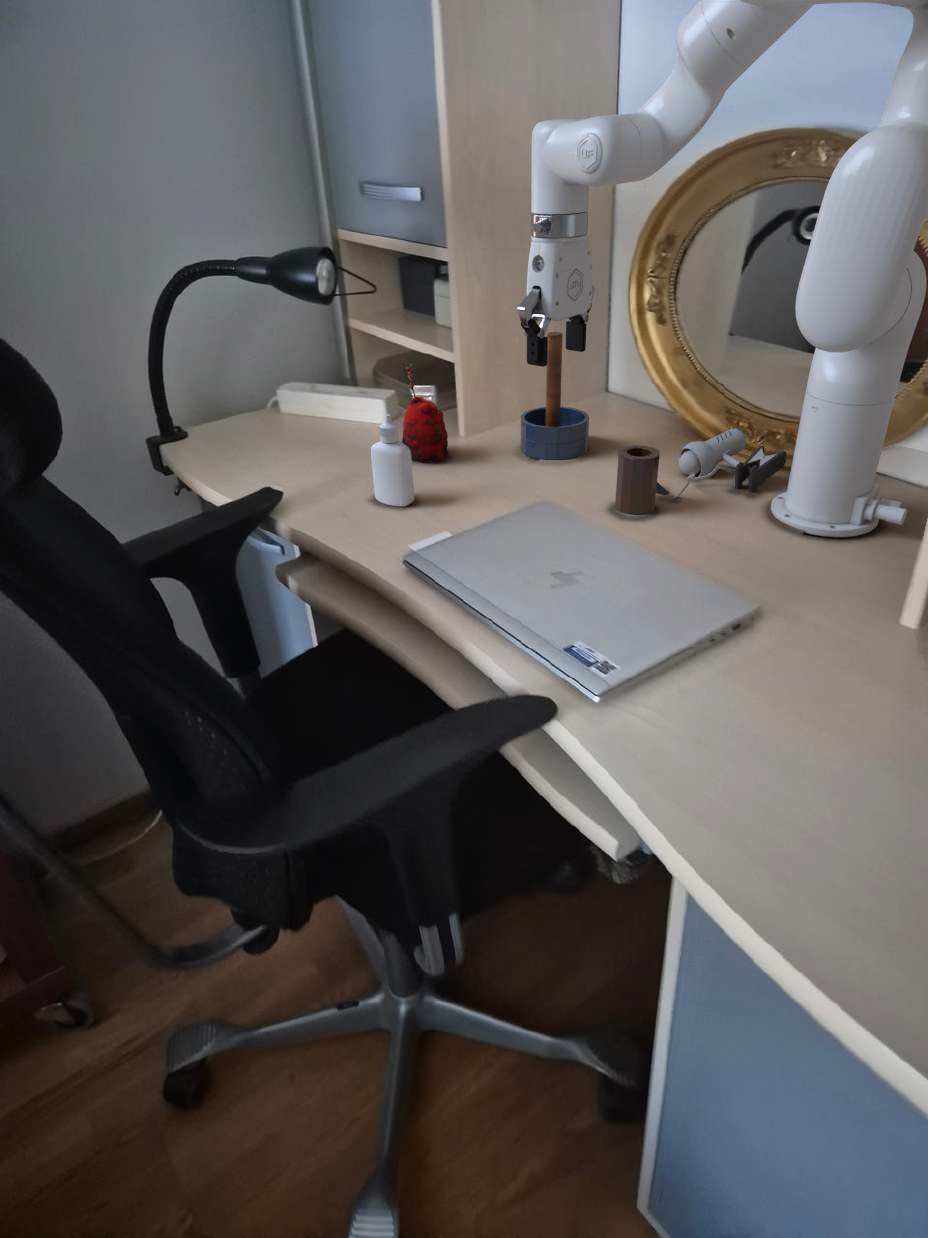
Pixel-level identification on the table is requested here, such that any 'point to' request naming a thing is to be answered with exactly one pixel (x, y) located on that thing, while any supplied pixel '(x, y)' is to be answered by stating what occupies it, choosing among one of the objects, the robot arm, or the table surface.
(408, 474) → the eye dropper bottle
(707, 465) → the clip-on lamp
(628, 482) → the holder
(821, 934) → the table surface
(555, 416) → the stick
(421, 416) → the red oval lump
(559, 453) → the bowl
